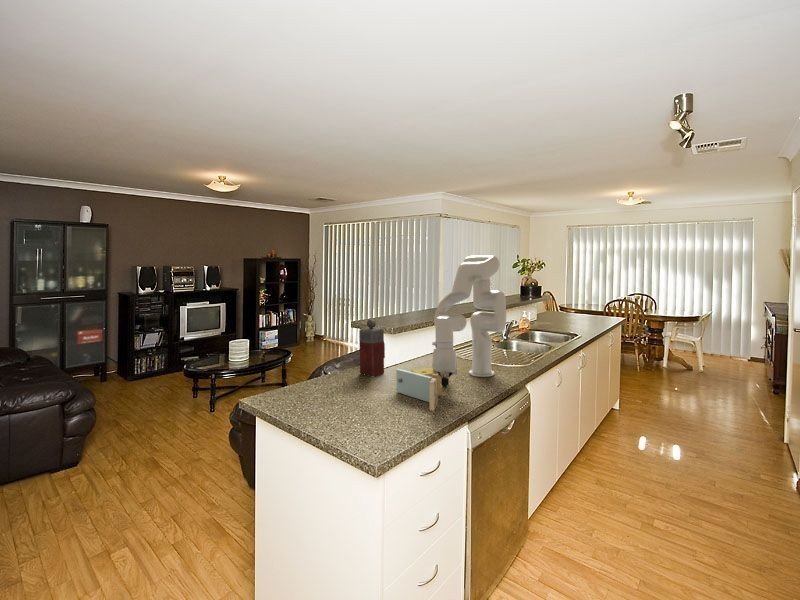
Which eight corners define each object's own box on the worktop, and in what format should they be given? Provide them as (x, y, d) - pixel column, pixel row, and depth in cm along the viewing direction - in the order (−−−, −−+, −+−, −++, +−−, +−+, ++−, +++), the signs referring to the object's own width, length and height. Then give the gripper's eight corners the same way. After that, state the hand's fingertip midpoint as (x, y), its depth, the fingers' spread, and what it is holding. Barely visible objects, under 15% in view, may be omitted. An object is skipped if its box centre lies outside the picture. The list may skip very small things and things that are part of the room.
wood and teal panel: (444, 382, 203) (444, 357, 202) (448, 382, 202) (448, 357, 201) (429, 410, 164) (428, 379, 163) (434, 410, 164) (434, 380, 163)
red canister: (387, 372, 222) (386, 318, 220) (373, 377, 213) (372, 321, 211) (374, 369, 228) (373, 317, 225) (359, 374, 219) (358, 319, 216)
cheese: (442, 395, 182) (441, 372, 182) (418, 398, 179) (418, 375, 178) (431, 388, 192) (431, 366, 191) (409, 391, 188) (409, 369, 188)
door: (434, 401, 174) (434, 376, 174) (428, 403, 172) (428, 378, 171) (401, 390, 189) (401, 368, 188) (394, 392, 186) (394, 369, 186)
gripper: (425, 346, 182) (426, 388, 184) (461, 347, 178) (461, 390, 180) (428, 342, 189) (429, 383, 191) (462, 343, 186) (463, 385, 188)
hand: (445, 386), depth 186 cm, fingers closed
